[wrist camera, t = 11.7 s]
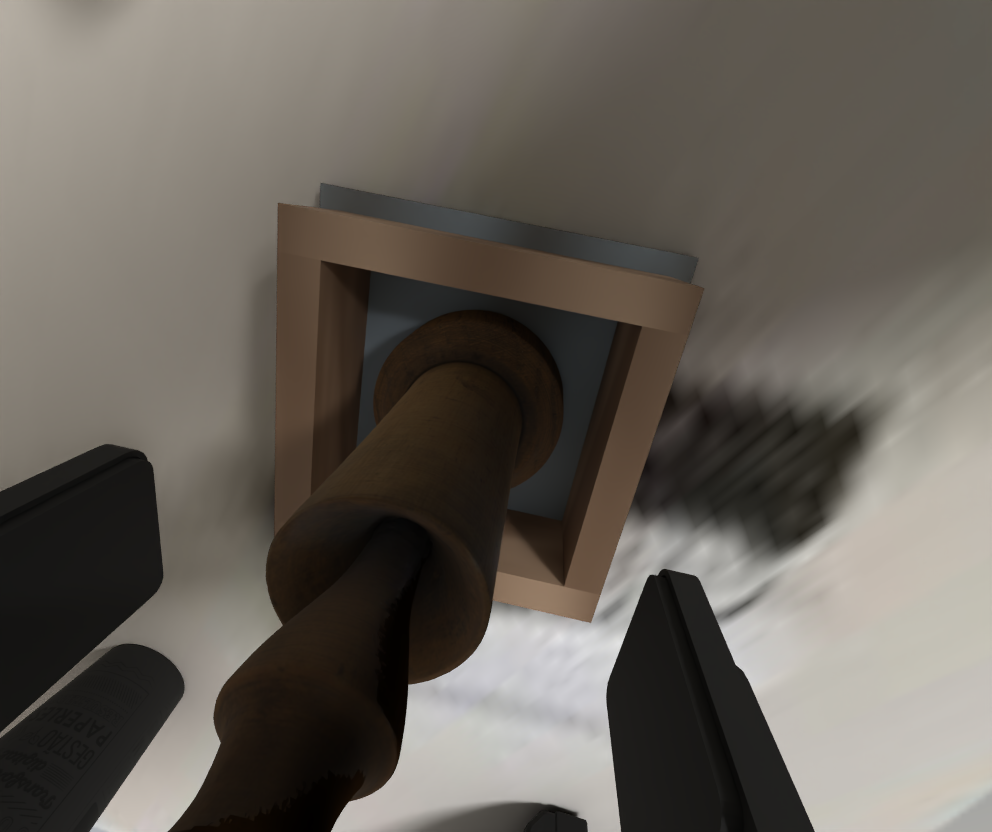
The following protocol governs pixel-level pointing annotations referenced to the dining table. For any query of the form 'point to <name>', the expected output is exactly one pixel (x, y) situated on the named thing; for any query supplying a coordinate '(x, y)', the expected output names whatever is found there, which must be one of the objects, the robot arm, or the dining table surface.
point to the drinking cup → (85, 741)
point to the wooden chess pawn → (382, 576)
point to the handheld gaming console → (556, 823)
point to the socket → (497, 288)
